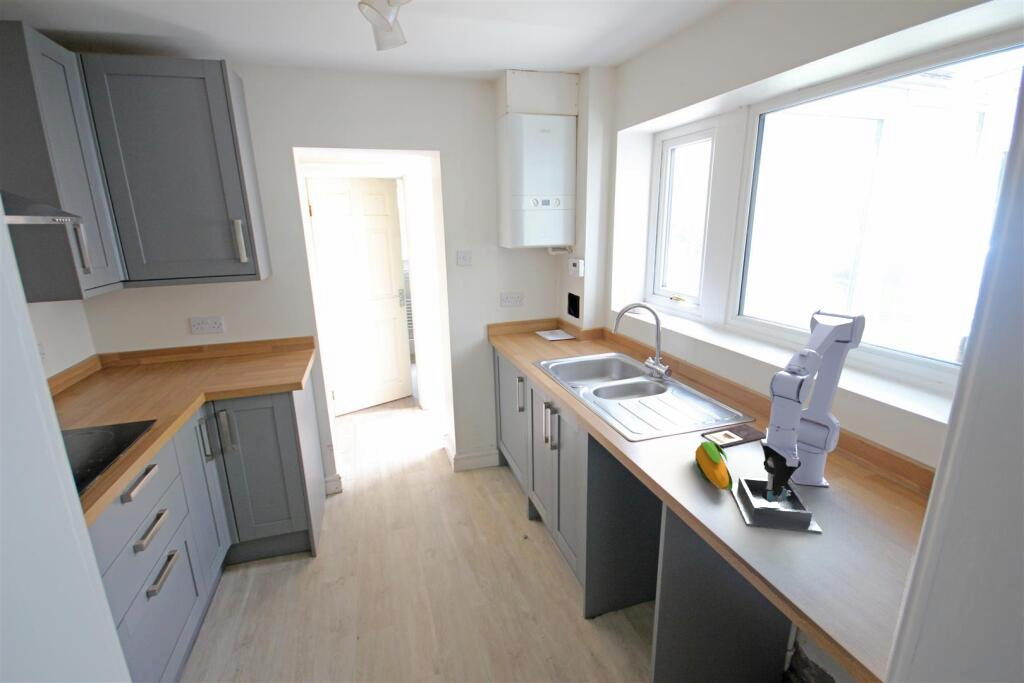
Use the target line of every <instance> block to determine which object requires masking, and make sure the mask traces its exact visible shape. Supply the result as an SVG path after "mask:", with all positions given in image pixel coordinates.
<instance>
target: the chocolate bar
mask: <svg viewBox="0 0 1024 683" xmlns="http://www.w3.org/2000/svg"><path fill="white" fill-rule="evenodd" d="M700 436H702V437H703V438H704V439H707V440H708V441H709V442H711V443H715V444H717V445H719V447H720V448H721V449H726V448H731V447H736V446H741V445H743V444H748V443H752V442H756V441H761V439H766V435H765V432H762V431H761V430H758V429H756V428H755V427H752V426H750V425H748V424H746V423H744V424H740V425H735V426H731V427H727V428H721V429H716V430H713V431H712V430H711V431H707V432H704V433H701V434H700Z"/></svg>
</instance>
